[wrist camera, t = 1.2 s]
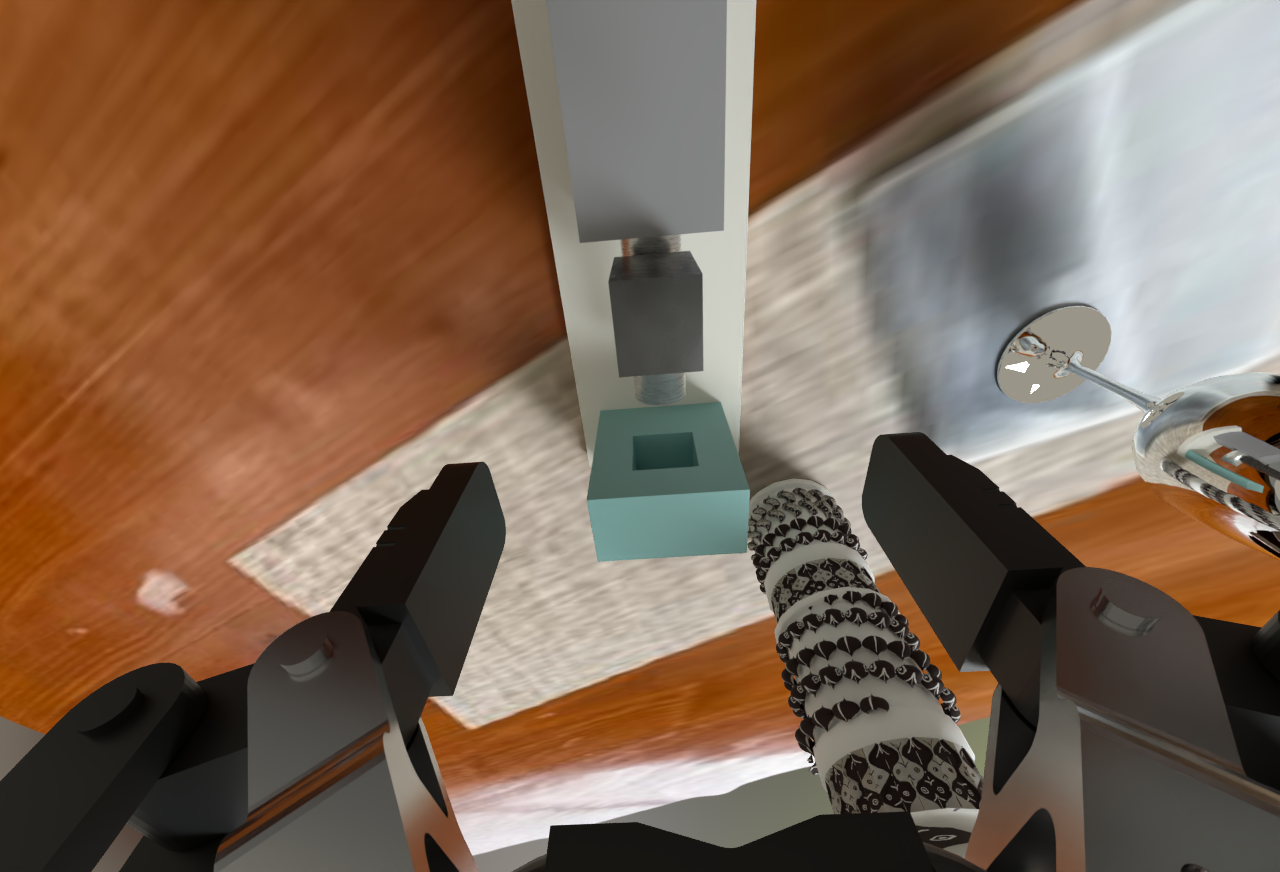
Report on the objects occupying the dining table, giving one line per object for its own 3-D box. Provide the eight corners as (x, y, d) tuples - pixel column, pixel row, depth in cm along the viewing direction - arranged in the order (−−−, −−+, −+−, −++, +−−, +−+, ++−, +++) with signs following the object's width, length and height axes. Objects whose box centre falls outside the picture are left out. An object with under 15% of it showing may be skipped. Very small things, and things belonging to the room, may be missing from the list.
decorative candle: (736, 555, 44) (826, 924, 23) (739, 478, 40) (857, 855, 18) (831, 549, 44) (1014, 919, 23) (846, 471, 39) (1095, 847, 18)
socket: (600, 410, 34) (586, 500, 25) (720, 401, 34) (750, 489, 25) (607, 463, 37) (597, 561, 28) (720, 455, 37) (746, 552, 28)
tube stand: (499, -104, 22) (400, -291, 13) (754, -134, 21) (841, -350, 12) (591, 456, 38) (576, 548, 29) (735, 446, 38) (766, 537, 29)
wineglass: (1058, 412, 36) (1430, 640, 19) (971, 390, 35) (1284, 610, 18) (1136, 318, 32) (1691, 498, 15) (1041, 290, 31) (1524, 451, 14)
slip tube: (580, -116, 17) (544, -285, 11) (674, -128, 17) (697, -306, 11) (630, 385, 28) (627, 455, 22) (688, 380, 28) (704, 449, 22)
